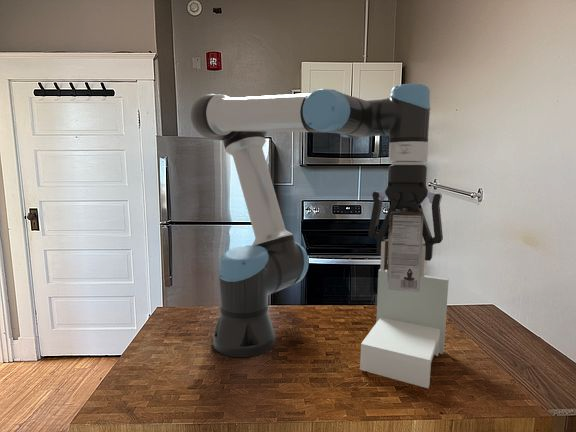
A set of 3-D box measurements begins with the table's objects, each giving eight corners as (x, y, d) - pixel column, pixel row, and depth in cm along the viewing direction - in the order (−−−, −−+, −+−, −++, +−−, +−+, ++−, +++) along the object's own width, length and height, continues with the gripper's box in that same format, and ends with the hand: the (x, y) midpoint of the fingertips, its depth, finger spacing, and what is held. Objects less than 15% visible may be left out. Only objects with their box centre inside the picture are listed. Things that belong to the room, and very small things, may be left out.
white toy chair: (355, 368, 81) (358, 288, 79) (377, 336, 96) (380, 269, 94) (433, 389, 74) (439, 302, 71) (443, 351, 89) (448, 278, 86)
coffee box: (386, 277, 85) (388, 207, 83) (415, 279, 83) (419, 207, 81) (387, 290, 76) (390, 212, 74) (420, 292, 74) (424, 212, 72)
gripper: (353, 163, 78) (351, 270, 81) (460, 163, 68) (452, 284, 71) (364, 164, 85) (362, 262, 88) (463, 163, 75) (456, 274, 78)
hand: (402, 272), depth 79 cm, fingers closed on coffee box, 7 cm apart
